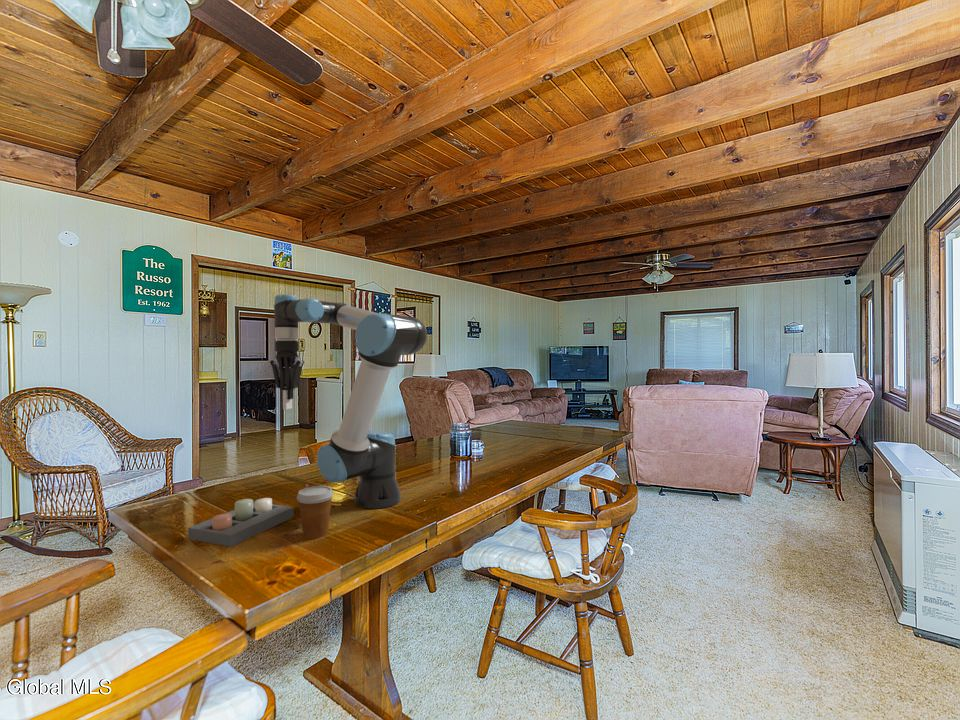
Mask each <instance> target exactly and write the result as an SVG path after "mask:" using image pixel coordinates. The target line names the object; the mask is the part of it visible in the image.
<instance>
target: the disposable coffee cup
mask: <svg viewBox="0 0 960 720" xmlns="http://www.w3.org/2000/svg"><path fill="white" fill-rule="evenodd" d="M303 488H304V487H303ZM301 489H302V488H301ZM301 489H299V490H298V493H297V495H296V501H297V500H298V501H297V503H298V502H299V503H298V507H299V514H300V520H301V528H302V535H303V537H304V538H305V539H310V540H311V539H319V538H322V537H325V536H326V535H327V534H328V532H329V526H330V525H329V524H330V516H331V508H332V499H333V496H334V493H335V492H333V490H332V489H333V488H332V487H331V486H327V485H314V486H310V487H307V488H304V489H302V490H301Z"/></svg>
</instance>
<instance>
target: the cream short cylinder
mask: <svg viewBox="0 0 960 720" xmlns="http://www.w3.org/2000/svg"><path fill="white" fill-rule="evenodd" d="M254 502H255V512H260V513H265V512H267V511H269V510H272V504H273V498H271V497H263V498H258V499H256V500H255V501H254Z"/></svg>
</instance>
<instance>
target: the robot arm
mask: <svg viewBox="0 0 960 720" xmlns="http://www.w3.org/2000/svg"><path fill="white" fill-rule="evenodd" d="M273 310H274V311H273V315H274V339H275V341H274V351H275V352H276V355H275V358H274V359H272V360H270V361H269V364H270V365H271V368H272V371H273V377H274V382H275V387H276V388H277V389H280V391H281V393H280V394H281V400H282V410H291V409H293V399H294V390H295V389H297V388H299V385H300V379H301V375H302V369H303V366H304V364H305V361H304V360H301V359H300V358H299V354H298V352H299V348H300V347H299V342H300V341H298V340H299V323H313V324H314V323H316V324H317V323H319V324H331V325H332V324H333V325H337V326H341V327H344V328H348V329H351V330H353V331H355V333H354V340H355V343H354V344H355V346H356V347H355V348H356V349H357V350H358V352H357V354H358V355H357V356H358V357H359V359H360V360H361V361H360V364H359V367H358V370H357V373H356V376H355V379H354V382H353V385H352V390H351V391H350V394H349V395H350V396H349V399H348V402H347V404H346V407H345V411H344V413H343V416H342V420H341V423H340V425H339V429H337V430H334V431H333V432H332V434H331V437H330V439H329V443H328V444H323V445H322V446H320V447H319V448H318V451H317V453H316V462H317V464H316V465H317V468H318V471H319V472H320V474H321V476H322V477H323V478H324V479H325V480H326V481H327V482H329V483H333V484H334V483H340V482H341V483H342V482H343V483H344V482H346V481H348V480H351V479H355V478H357V477H359V479H358V484H357V487H356V488H355V489H356V490H355V493H354V497H353V499H354V500H353V501H354V502H353V503H354V505H355V506H357V507H359V508H364V509H383V508H389V507H392V506H394V505H397V504H399V503H400V502H401V501H402V500H401V499H402V497H401V496H402V494H401V493H402V492H401V490H400V487H399V484H398V481H397V477H396V448H397V447H396V440H395V439H396V438H395V436H394V434H392V433H390V432H385V431H370V430H371V427H372V424H373V420H374V419H375V416H376V411H377V409H378V408H379V407H378V406H379V404H380V402H381V398H382V395H383V392H384V389H385V386H386V383H387V380H388V377H389V374H390V372H391V370H393V369H395V368H396V367H398V365H399V361H400V359H401V356H410V355H413V354H417V353H418V352H420V351H421V350H422V349H423V348H424V346H425V345H426V343H427V340H428V330H427V328H426V325H425V324H424V323H423V322H422V321H421V320H420V319H418V318H417V317H414V316H409V315H398V314H389V313H384V312H383V313H381V312H380V313H379V312H375V311H371V310H368V309H363V308H359V307H356V306H351V305H350V304H348V303H344V302H332V301H326V300H325V301H324V300H319V299H317V298H309V297H306V298H302V299H299V297H298V296H297V295H295V294H276V296H274V304H273Z"/></svg>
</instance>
